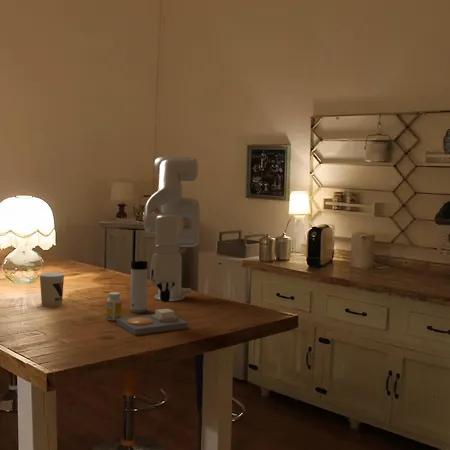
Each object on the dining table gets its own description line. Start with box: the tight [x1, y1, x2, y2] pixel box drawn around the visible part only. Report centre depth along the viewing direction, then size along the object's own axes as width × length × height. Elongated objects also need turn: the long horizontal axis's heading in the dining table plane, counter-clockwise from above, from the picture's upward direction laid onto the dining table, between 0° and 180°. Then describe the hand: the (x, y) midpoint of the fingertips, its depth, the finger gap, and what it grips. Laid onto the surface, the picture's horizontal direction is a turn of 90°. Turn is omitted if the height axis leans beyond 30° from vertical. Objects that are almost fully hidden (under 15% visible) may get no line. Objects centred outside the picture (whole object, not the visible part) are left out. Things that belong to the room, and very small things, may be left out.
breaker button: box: [154, 308, 175, 319], centre depth 231 cm, size 5×5×3 cm
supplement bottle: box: [106, 291, 123, 321], centre depth 236 cm, size 5×5×10 cm
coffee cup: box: [39, 272, 65, 308], centre depth 256 cm, size 9×9×12 cm
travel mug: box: [130, 260, 148, 314], centre depth 249 cm, size 6×7×20 cm
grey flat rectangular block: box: [116, 313, 189, 336], centre depth 228 cm, size 20×16×3 cm
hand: (164, 301), depth 230 cm, fingers closed
